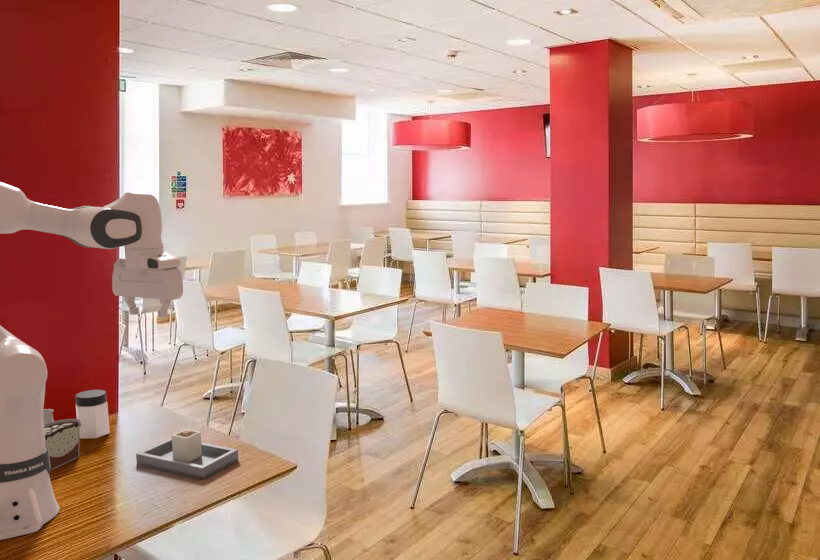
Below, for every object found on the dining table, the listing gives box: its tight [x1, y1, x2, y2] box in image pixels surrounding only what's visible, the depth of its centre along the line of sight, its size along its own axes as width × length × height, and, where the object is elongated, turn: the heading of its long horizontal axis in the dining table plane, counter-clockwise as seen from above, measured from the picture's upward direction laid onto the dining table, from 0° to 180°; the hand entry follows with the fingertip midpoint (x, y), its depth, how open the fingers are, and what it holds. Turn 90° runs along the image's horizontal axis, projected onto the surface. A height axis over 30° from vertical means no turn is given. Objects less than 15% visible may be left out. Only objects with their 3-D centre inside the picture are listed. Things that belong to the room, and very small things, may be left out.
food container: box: [44, 418, 81, 472], centre depth 179 cm, size 12×6×10 cm, turn 161°
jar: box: [74, 389, 110, 440], centre depth 199 cm, size 9×8×12 cm
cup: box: [171, 428, 202, 463], centre depth 178 cm, size 5×5×8 cm
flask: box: [43, 408, 55, 425], centre depth 191 cm, size 7×7×10 cm
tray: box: [135, 437, 239, 481], centre depth 178 cm, size 13×22×3 cm, turn 64°
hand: (148, 315), depth 170 cm, fingers open, 8 cm apart
